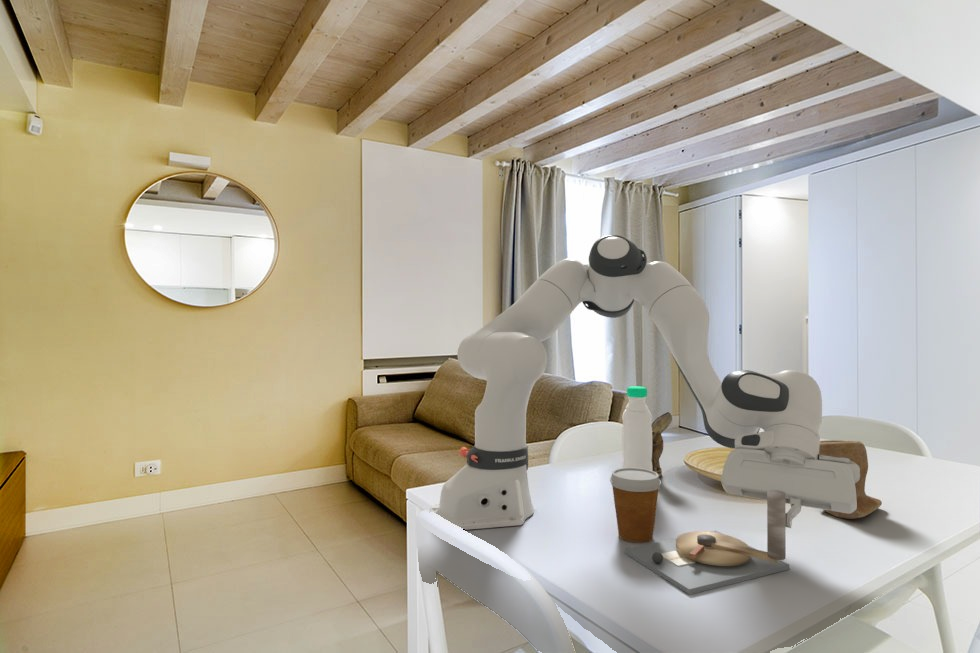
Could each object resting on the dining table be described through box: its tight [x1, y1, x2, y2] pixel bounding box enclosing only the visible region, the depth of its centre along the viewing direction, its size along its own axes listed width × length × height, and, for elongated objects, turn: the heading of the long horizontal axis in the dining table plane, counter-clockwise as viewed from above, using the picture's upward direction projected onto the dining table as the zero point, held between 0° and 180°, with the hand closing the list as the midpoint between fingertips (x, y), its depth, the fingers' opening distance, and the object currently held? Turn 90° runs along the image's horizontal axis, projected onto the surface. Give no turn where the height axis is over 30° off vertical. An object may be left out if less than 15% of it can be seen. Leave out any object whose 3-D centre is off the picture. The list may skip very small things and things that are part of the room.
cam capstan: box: [675, 490, 787, 566], centre depth 93 cm, size 17×13×12 cm
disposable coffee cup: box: [609, 467, 662, 543], centre depth 105 cm, size 10×10×12 cm
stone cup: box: [819, 439, 883, 520], centre depth 119 cm, size 15×12×15 cm
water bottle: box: [621, 385, 653, 471], centre depth 133 cm, size 7×7×25 cm
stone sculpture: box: [651, 411, 673, 478], centre depth 145 cm, size 9×14×18 cm, turn 27°
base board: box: [624, 529, 790, 595], centre depth 94 cm, size 21×16×3 cm
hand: (781, 525), depth 90 cm, fingers closed, pressing on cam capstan
